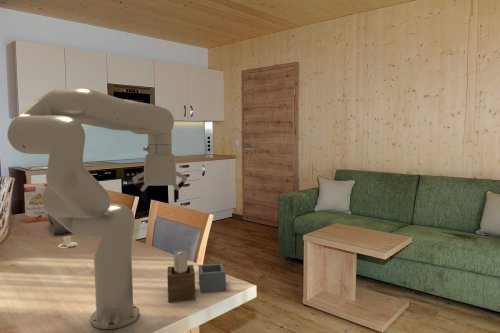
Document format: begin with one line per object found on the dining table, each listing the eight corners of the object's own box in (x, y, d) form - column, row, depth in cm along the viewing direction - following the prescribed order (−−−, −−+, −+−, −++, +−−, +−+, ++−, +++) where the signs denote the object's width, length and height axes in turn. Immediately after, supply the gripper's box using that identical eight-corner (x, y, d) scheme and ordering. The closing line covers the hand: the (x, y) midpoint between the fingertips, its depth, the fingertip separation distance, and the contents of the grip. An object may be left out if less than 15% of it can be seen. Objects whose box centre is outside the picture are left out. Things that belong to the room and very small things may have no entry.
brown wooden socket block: (195, 299, 115) (194, 274, 114) (168, 302, 113) (167, 276, 112) (193, 289, 122) (193, 265, 122) (168, 291, 121) (167, 266, 120)
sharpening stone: (73, 234, 185) (72, 212, 184) (55, 237, 181) (54, 214, 179) (64, 224, 205) (63, 204, 204) (48, 226, 201) (47, 206, 200)
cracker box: (25, 223, 208) (23, 185, 206) (26, 220, 213) (23, 183, 211) (54, 220, 215) (52, 183, 213) (54, 217, 220) (52, 182, 218)
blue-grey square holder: (225, 290, 121) (225, 272, 121) (200, 292, 120) (200, 274, 119) (222, 280, 129) (222, 263, 129) (198, 282, 128) (198, 265, 127)
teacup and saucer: (77, 248, 166) (76, 239, 165) (56, 250, 163) (56, 241, 162) (78, 242, 174) (77, 233, 173) (58, 244, 171) (58, 235, 170)
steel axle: (188, 297, 116) (187, 253, 115) (174, 298, 115) (173, 254, 114) (187, 292, 120) (186, 249, 119) (174, 293, 119) (173, 249, 118)
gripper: (131, 150, 117) (132, 205, 118) (187, 150, 122) (188, 203, 123) (132, 149, 124) (133, 201, 126) (185, 149, 129) (186, 199, 130)
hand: (160, 202), depth 124 cm, fingers open, 9 cm apart
